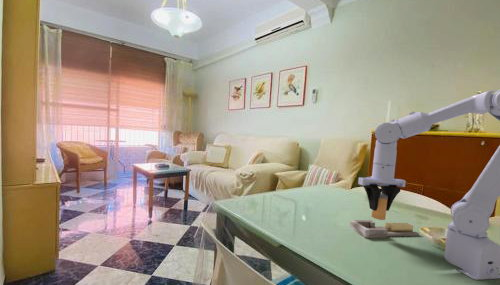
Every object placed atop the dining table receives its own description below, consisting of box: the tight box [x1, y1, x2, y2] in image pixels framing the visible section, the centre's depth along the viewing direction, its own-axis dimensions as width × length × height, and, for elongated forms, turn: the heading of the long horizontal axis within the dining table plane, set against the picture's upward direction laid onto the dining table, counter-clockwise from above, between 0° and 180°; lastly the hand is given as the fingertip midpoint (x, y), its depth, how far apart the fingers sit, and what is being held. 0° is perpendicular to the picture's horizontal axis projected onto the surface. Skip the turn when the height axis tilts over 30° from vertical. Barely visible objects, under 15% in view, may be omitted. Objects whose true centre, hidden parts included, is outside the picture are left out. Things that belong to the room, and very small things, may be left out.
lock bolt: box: [384, 222, 414, 232], centre depth 76 cm, size 2×8×2 cm, turn 101°
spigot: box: [371, 192, 388, 221], centre depth 70 cm, size 4×4×7 cm
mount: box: [349, 219, 423, 239], centre depth 75 cm, size 8×21×3 cm, turn 101°
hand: (379, 209), depth 70 cm, fingers closed on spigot, 4 cm apart
